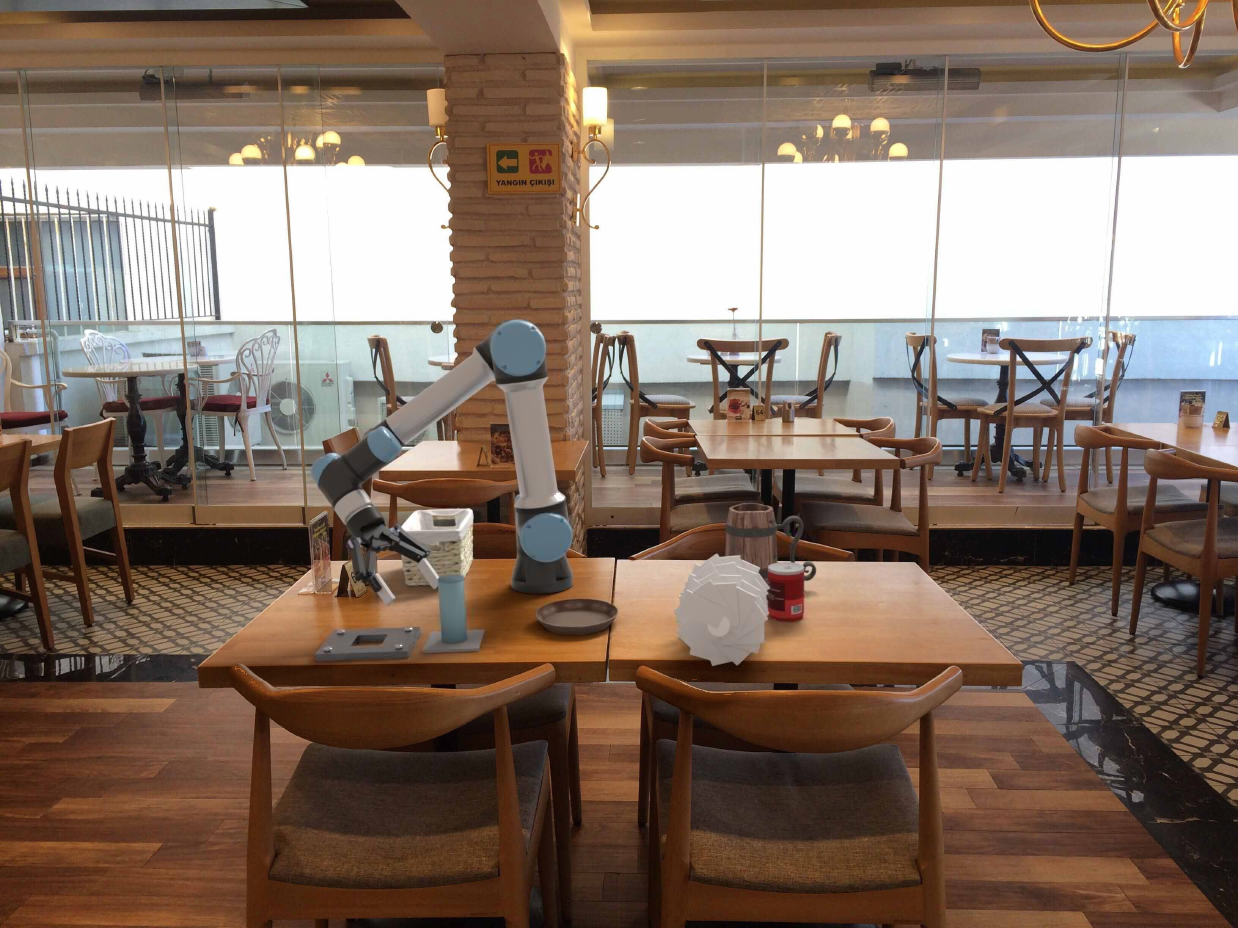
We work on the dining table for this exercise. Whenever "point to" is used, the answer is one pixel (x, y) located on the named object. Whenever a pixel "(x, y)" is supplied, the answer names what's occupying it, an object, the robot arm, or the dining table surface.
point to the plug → (452, 609)
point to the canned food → (786, 591)
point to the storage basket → (440, 543)
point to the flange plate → (345, 642)
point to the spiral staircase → (723, 610)
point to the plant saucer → (577, 616)
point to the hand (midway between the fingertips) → (415, 593)
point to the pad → (437, 646)
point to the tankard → (759, 537)
